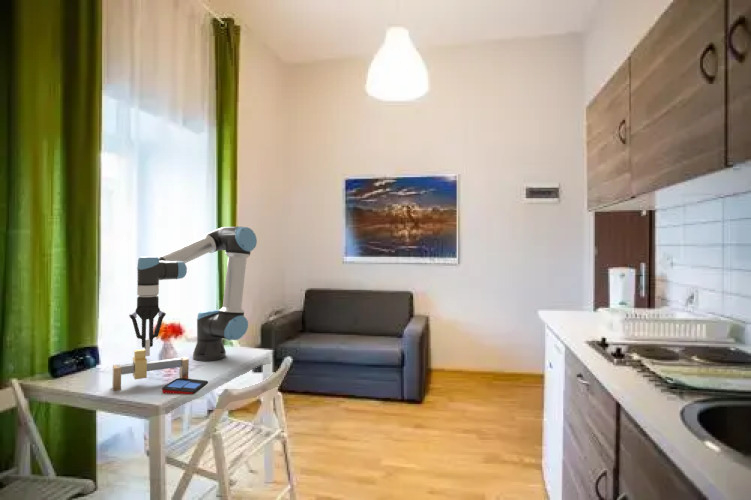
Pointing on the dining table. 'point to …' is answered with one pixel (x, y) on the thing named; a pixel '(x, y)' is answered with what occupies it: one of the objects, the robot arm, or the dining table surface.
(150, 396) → the dining table surface
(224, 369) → the dining table surface
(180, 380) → the game console
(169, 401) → the dining table surface
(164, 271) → the robot arm
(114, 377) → the grey rail on posts
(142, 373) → the beige wooden block
